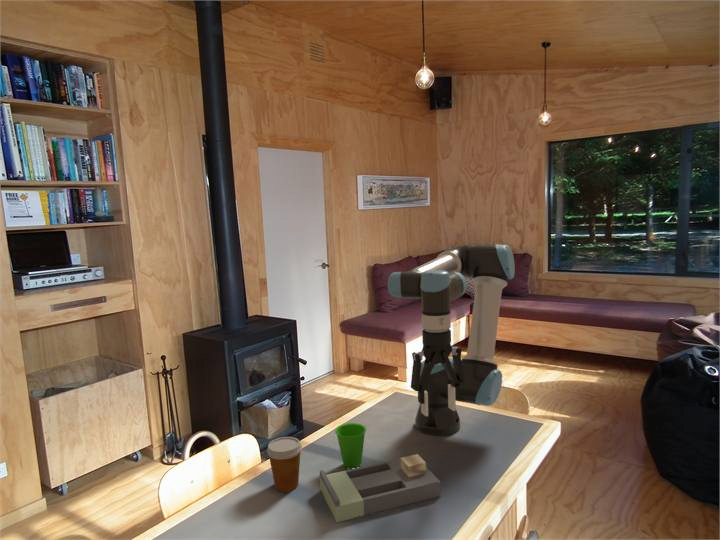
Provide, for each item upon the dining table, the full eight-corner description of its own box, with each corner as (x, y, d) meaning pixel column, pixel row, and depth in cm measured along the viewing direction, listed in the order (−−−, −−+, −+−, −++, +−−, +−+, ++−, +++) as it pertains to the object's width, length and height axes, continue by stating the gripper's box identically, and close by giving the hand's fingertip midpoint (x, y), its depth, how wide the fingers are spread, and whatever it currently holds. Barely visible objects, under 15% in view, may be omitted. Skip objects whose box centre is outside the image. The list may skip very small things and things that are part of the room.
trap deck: (415, 468, 142) (414, 450, 142) (440, 495, 128) (440, 475, 128) (320, 490, 133) (319, 470, 133) (336, 522, 119) (335, 501, 119)
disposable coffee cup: (289, 499, 130) (286, 455, 128) (261, 489, 135) (258, 447, 133) (311, 481, 138) (308, 440, 136) (284, 473, 143) (282, 433, 141)
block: (417, 464, 137) (417, 454, 136) (426, 473, 132) (425, 462, 132) (401, 468, 135) (400, 457, 135) (408, 477, 130) (408, 466, 130)
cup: (364, 474, 140) (363, 437, 139) (333, 472, 142) (331, 435, 141) (370, 458, 149) (368, 423, 148) (341, 456, 151) (339, 422, 150)
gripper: (407, 337, 125) (409, 423, 128) (477, 327, 131) (478, 410, 134) (395, 330, 132) (398, 412, 135) (462, 321, 138) (464, 400, 141)
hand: (438, 411), depth 134 cm, fingers open, 8 cm apart
